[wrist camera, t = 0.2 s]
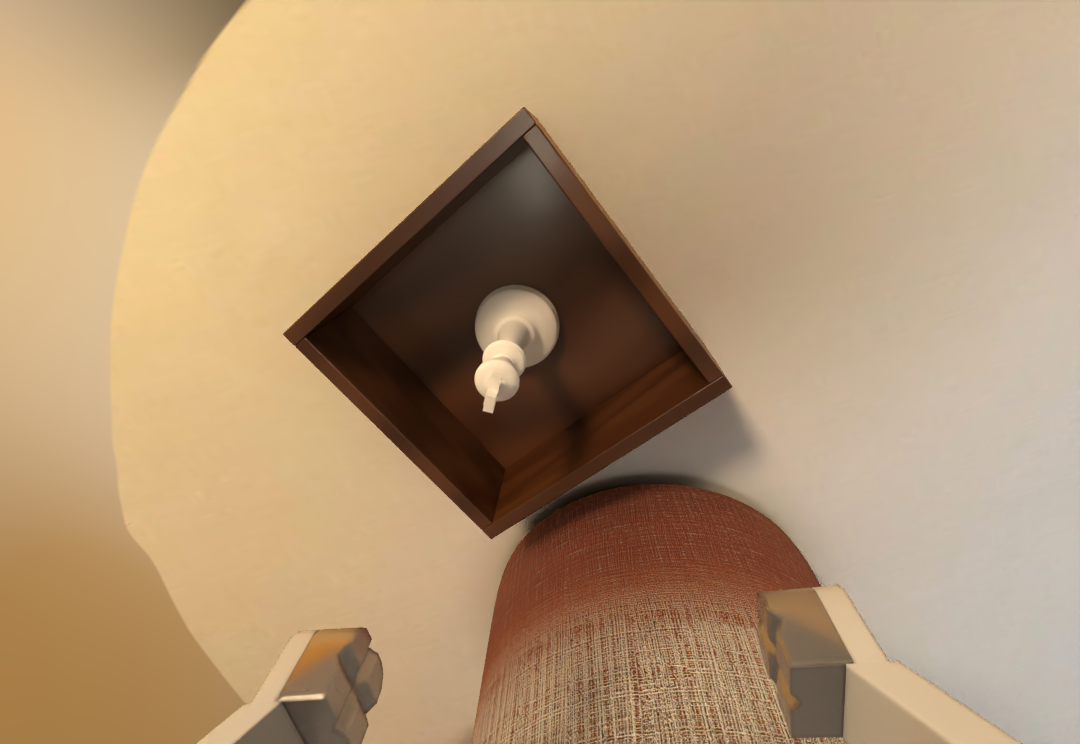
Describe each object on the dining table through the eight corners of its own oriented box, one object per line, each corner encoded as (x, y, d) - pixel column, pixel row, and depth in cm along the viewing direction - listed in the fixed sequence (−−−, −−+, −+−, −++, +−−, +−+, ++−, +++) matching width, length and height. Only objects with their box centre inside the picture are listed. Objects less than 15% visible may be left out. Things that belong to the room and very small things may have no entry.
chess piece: (468, 353, 31) (420, 436, 22) (485, 274, 29) (441, 329, 20) (547, 374, 31) (533, 466, 22) (569, 297, 29) (564, 363, 20)
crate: (334, 302, 31) (282, 334, 25) (535, 116, 26) (524, 106, 21) (505, 479, 35) (491, 539, 29) (705, 345, 30) (732, 387, 25)
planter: (632, 409, 32) (704, 755, 13) (875, 586, 36) (1189, 1042, 17) (444, 609, 40) (326, 1002, 21) (661, 736, 44) (721, 1162, 25)
